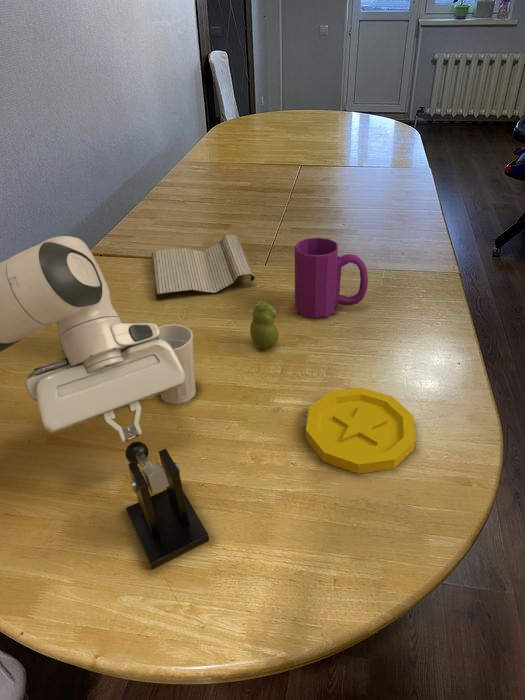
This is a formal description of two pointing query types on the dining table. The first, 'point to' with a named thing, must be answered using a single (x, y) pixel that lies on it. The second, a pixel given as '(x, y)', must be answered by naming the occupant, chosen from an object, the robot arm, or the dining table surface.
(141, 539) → the black lever stand
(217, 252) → the mat
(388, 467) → the decorative disc
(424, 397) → the dining table surface
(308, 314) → the mug
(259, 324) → the green figurine
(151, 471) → the lever with ball knob
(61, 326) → the robot arm
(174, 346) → the cup
